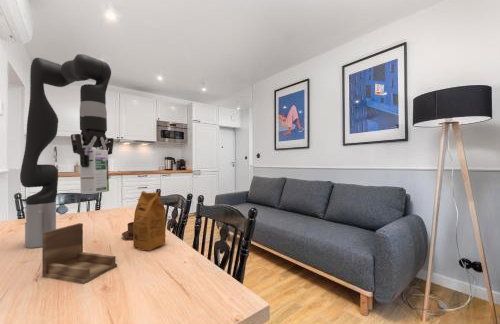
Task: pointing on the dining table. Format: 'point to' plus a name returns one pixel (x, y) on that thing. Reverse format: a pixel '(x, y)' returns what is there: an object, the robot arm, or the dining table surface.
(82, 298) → the dining table surface
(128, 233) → the cup and saucer
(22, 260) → the dining table surface
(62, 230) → the small wooden shelf
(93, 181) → the syrup box
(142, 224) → the coffee package
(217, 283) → the dining table surface
